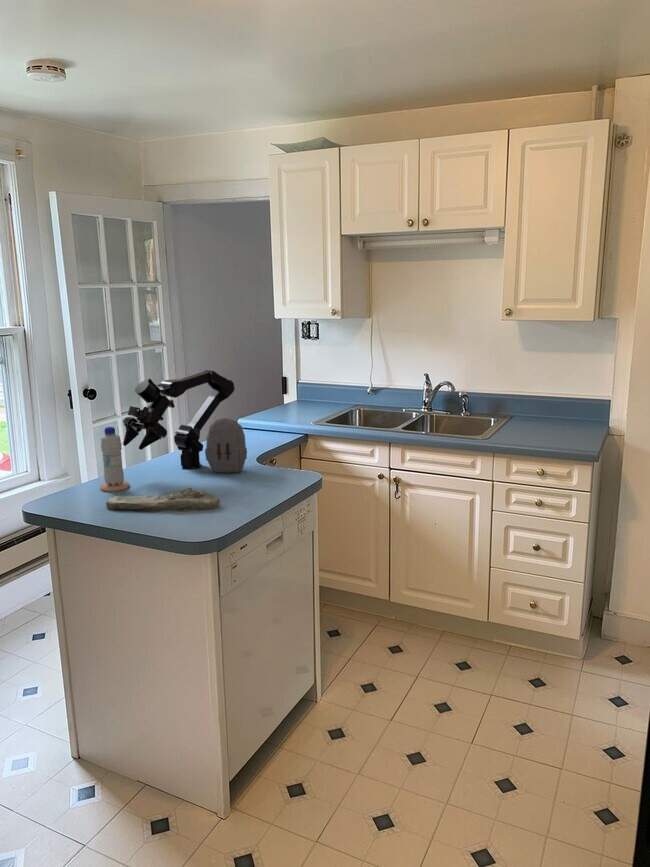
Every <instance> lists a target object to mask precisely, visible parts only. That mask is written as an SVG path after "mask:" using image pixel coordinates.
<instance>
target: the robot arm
mask: <svg viewBox="0 0 650 867" xmlns="http://www.w3.org/2000/svg"><path fill="white" fill-rule="evenodd" d="M204 384H207V385H208V386H209V395H208V397H207V398H206V400H205V401H204V402H203V404H202V405H201V407H200V408H199V409H198V410H197V412H196V413H195V415H194V416H193V418H191V420H190V422H189V423H188V424H180V426H179V427H178V429H177V431H175V432H174V433H175V435H173V436H174V437H173V439H174V444H175V445H176V447H177V449H178V450H179V451H181V454H180V466H181V469H183V468H187V469H200V468H201V460H200V452H203V449H204V444H203V443H202V442H200V441H199V440H200V436H201V431H202V429H203V428H204V426H205V425H206V423H207V422H208V421H209V419H210V418H211V417H212V415H213V413H214V412H215V411H216V409H217V407H219V405H220V404H221V403H222V402H224V401H225V400H227V399H228V398H230V396H231V395H232V394H233V393H234V392H235V384H234V382H233V380H230V379H227V378H226V377H224V376H222V375H220V374H219V373H217V372H216V371H215V370H210V369H205V370H203V371H201V372H198V373H195V374H192V375H189V376H187V377H186V376H185V377H184V378H178V379H177V378H176V379H165V380H163V381H161V382H160V384H155V383H154V382H153V380H152V379H151V378H145V379H144V380H142V381H141V382H140V383H138V384H137V385H136V386H135V389H134V392H135V394H136V395H137V396H139V397H140V398H141V399H142V400H143V401H144V402H145V403H148V404H149V403H150V404H149V406H148V407H147V406H144V405H142V406H141V407H137V406H133V405H132V406H131V405H129V408H128V411H127V417H125V418H124V419H123V421H122V423H123V426H124V427H125V435H124V439H123V441H122V445H123V446H124V447H126V446H127V445H129V444H130V443H131V442H132V441H133V440H135V439H136V437H138V436H139V435H140V432H141V431H142V430H145V435H144V437H143V438H142V440H141V442H140V444H139V446H138V449H139V450H140V451H141V450H144V449H145V448H147V447H148V446H150V445H151V444H153V443H155V442H157V441H159V440H162V439H165V438H166V437H167V435H168V430H167V429H166V428H165V427H164V425H162V424H161V423H159V422H160V421H161V422H163V420H164V417H163V416H164V414H165V413H166V411H167V409H168V408H171V409H174V408H175V407H176V406H175V403H174V400H173V399H169V398H168V397H170V398H175V399H176V398H178V397H180V396H182V395H183V394H185V392H186V391H188V390H190V389H193V388H196V387H198V386H201V385H204ZM131 416H132V417H131ZM134 417H135V418H134ZM183 470H184V469H183Z"/></svg>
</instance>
